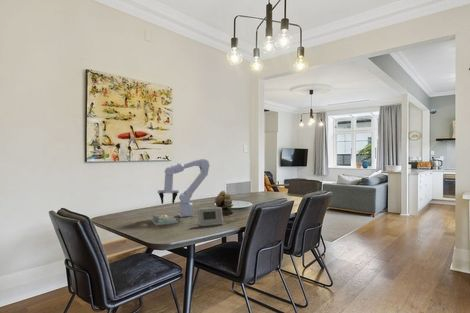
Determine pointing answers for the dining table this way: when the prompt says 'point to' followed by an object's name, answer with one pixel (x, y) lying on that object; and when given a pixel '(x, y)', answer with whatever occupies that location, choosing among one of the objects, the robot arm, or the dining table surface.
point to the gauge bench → (163, 220)
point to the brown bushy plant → (224, 202)
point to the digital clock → (210, 216)
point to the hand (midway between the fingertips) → (167, 203)
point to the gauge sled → (163, 217)
